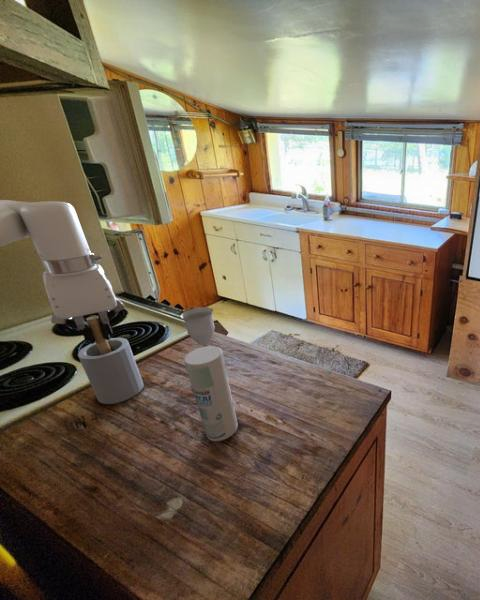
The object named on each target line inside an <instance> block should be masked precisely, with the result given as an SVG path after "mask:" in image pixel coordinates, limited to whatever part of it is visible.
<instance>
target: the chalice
mask: <svg viewBox="0 0 480 600" xmlns="http://www.w3.org/2000/svg"><path fill="white" fill-rule="evenodd" d="M213 313H214V309H213V308H212V307H208V306H201V307H194V308H191V309H188V310H186V311H184V312H183V313H181V315H180V318H181V319H182V320H183V321H184V325H185V328H186V332H187V334H188V336H189V337H190V338H191V339H192V340H193V341H194V342H195V343H196V344H197V345H198V346H202V347H206V346H209V344H210V343H212V339H213V337H214V333H215V328H216V326H215V321H214V318H213Z"/></svg>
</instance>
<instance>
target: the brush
mask: <svg viewBox="0 0 480 600" xmlns="http://www.w3.org/2000/svg"><path fill="white" fill-rule="evenodd" d="M99 318H100V317H99V316H97V315H92V316H89V317H86V321H85V322H87V323H88V325H89V327H90V330H91V332H92V335H93V337H94V339H95V342H96V345H97V347H98V349H99V352H100V354H101V355H104V354H107V353H110V352H112V351H111V349H110V346H109V344H108V341H107V340H106V339H105V336H104V334H103V331H102V329H101V326H100V324H101V323H100V319H99Z"/></svg>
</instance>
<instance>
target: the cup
mask: <svg viewBox="0 0 480 600" xmlns="http://www.w3.org/2000/svg"><path fill="white" fill-rule="evenodd" d="M107 341H108V344H109V346H110V349H111V351H112V352H110V353H107V354H104V355H101V354H100V352H99V349H98V347H97V345H96V342H95V343H94V344H91V343H90V344H88V345H86V346H84V347H82V348H80V350H79V351H78V353H77V357H78V359H79V362H80V364H81V366H82V368H83V371H84V372H85V374H86V375H85V376H86V377H87V380H88V381H89V383H90V386H91V388H92V390H93V393H94V395H95V397H96V399H97V401H98V402H99V403H100V404H104V405H112V404H118V403H121V402H124V401H127V400H129V399H131V398H133V397H135V396H136V395H139V393H141V391H142V390H143V388H144V381H143V378H142V376H141V373H140V369H139V368H138V364H137V362H136V359H135V356H134V354H133V351H132V348H131V345H130V343H129V340H128V339H127V338H124V337H110V340H107Z"/></svg>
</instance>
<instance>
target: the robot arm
mask: <svg viewBox="0 0 480 600" xmlns="http://www.w3.org/2000/svg"><path fill="white" fill-rule="evenodd" d="M27 238H30V239H31V241H32V243H33V246H34V248H35V250H36V253H37V254H38V257H39V260H40V262H41V264H42V266H43V268H44V271H43V272H42V281H43V285H44V290H45V292H46V296H47V298H48V301H49V304H50V307H51V309H52V312H51V313H52V314H51V319H50V323H52V324H54V325H55V324H56V325H68V326H71V327H75V328H77V329H78V330H80V332H81V333H82V336H83V338H84V340H85V341H89V343H90V344H94V343H95V339H94V337H93V335H92V332H91V330H90V327H89V325H88V323H87V321H85V317H84V316H89V315H93V314H98V317H99V318H100V319H99V321H100V323H101V324H100V326H101V329H102V331H103V334H104V336H105V339H106V340H110V338H111V335H113V329H112V327H111V324H110V321H111V320H112V318H113V317H114V316H115V315H116V314H117V313H120V312H121V311H123V310H125V309H126V305H125V303H123V302H122V301H121V300H120V299H119V298H118V297H117V296H116V294H115V291H114V288H113V286H112V284H111V281H110V280H109V277H108V276H107V273H106V272H105V270H104V269H103V267H102V265H101V264H99V263H98V262H100V261H104V260H103V257H102V254H101V253H100V254H96V253H92V250H91V249H90V246H89V244H88V241H87V239H86V236H85V233H84V231H83V228H82V225H81V223H80V220H79V217H78V214H77V212H76V209H75V208H74V206H73V205H72V204H71V203H68V202H66V201H61V200H60V201H59V200H55V201H54V200H48V201H47V200H46V201H35V202H31V201H19V200H11V199H9V200H8V199H0V248H2V247H5V246H7V245H10V244H12V243H15V242H18V241H21V240H24V239H27Z"/></svg>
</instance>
